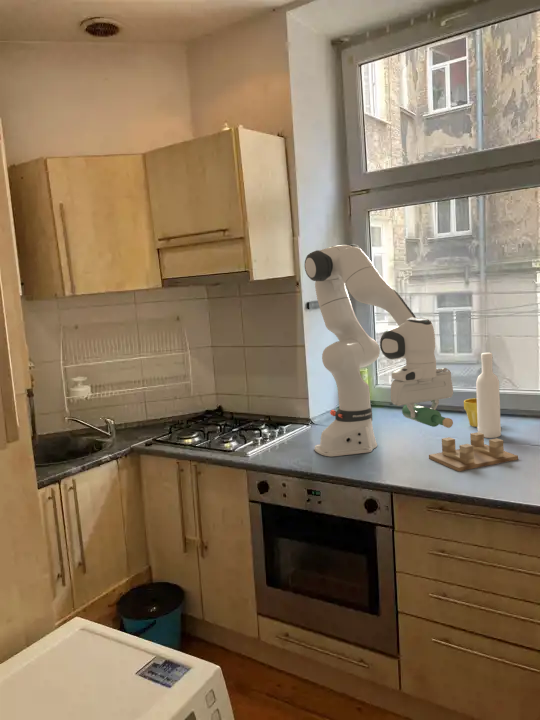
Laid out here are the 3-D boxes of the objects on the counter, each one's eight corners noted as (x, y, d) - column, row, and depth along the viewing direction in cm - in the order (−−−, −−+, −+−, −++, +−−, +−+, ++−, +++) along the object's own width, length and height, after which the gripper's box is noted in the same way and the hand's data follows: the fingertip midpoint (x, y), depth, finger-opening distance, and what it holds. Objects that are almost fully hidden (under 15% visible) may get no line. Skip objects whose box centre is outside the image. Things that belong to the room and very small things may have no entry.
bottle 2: (502, 437, 218) (500, 354, 215) (479, 438, 220) (476, 355, 216) (499, 432, 226) (496, 351, 222) (476, 432, 228) (473, 352, 224)
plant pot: (470, 421, 245) (469, 397, 244) (496, 423, 239) (496, 398, 238) (460, 427, 238) (459, 402, 236) (487, 429, 231) (486, 404, 230)
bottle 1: (402, 419, 196) (401, 404, 196) (416, 416, 198) (414, 401, 197) (442, 433, 176) (440, 416, 176) (457, 429, 178) (455, 412, 177)
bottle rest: (458, 471, 187) (457, 450, 186) (428, 458, 202) (428, 439, 201) (518, 459, 193) (517, 439, 193) (485, 447, 208) (484, 429, 208)
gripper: (444, 366, 194) (446, 409, 195) (386, 374, 187) (389, 418, 189) (456, 368, 188) (458, 412, 189) (397, 376, 181) (400, 422, 183)
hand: (423, 415), depth 189 cm, fingers closed on bottle 1, 5 cm apart
